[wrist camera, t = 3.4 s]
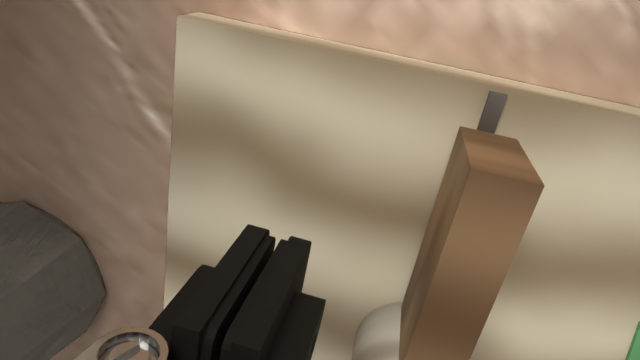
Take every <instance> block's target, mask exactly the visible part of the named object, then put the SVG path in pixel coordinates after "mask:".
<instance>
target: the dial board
mask: <svg viewBox="0 0 640 360" xmlns="http://www.w3.org/2000/svg"><path fill="white" fill-rule="evenodd" d="M460 126H462V127H467V128H471V129H475V130H480V131H484V132H488V133H493V134H497V135H502V136H506V137H510V138H515V139H517V140H518V141H519V143H520V145H521V147H522V148H523V150H524V152H525V153H526V155H527V157H528V158H529V160H530V162H531V163H532V165H533V167H534V168H535V170H536V172H537V174H538V175H539V177H540V179H541V180H542V182H543V184H544V185H545V186H544V189H543V191H542V193H541V196H540V198H539V200H538V203H537V205H536V207H535V209H534V212H533V214H532V216H531V219H530V221H529V223H528V226H527V228H526V230H525V233H524V235H523V237H522V240H521V242H520V244H519V247H518V249H517V251H516V253H515V256H514V258H513V260H512V263H511V265H510V267H509V270H508V272H507V274H506V277H505V279H504V281H503V284H502V286H501V288H500V291H499V293H498V295H497V298H496V300H495V302H494V304H493V307H492V309H491V311H490V314H489V316H488V318H487V321H486V323H485V325H484V328H483V330H482V332H481V335H480V337H479V339H478V342H477V344H476V346H475V348H474V351H473V353H472V355H471V358H470V360H640V108H638V107H633V106H628V105H624V104H619V103H615V102H610V101H605V100H601V99H596V98H592V97H587V96H582V95H578V94H573V93H569V92H564V91H560V90H555V89H550V88H546V87H541V86H537V85H532V84H527V83H523V82H518V81H514V80H509V79H504V78H500V77H495V76H491V75H486V74H482V73H477V72H472V71H468V70H463V69H459V68H454V67H449V66H445V65H440V64H436V63H431V62H426V61H422V60H417V59H413V58H408V57H403V56H399V55H394V54H390V53H385V52H381V51H376V50H371V49H367V48H362V47H358V46H353V45H348V44H344V43H339V42H335V41H330V40H325V39H321V38H316V37H312V36H307V35H303V34H298V33H293V32H289V31H284V30H280V29H275V28H270V27H266V26H261V25H257V24H252V23H247V22H243V21H238V20H234V19H229V18H225V17H220V16H215V15H211V14H206V13H202V12H197V13H191V14H186V15H180V16H177V29H176V50H175V72H174V94H173V115H172V137H171V158H170V180H169V202H168V223H167V245H166V267H165V288H164V309H165V308H166V306H167V305H168V304H169V303H170V301H171V300H172V299H173V298H174V297H175V295H176V294H177V293H178V292H179V290H180V289H181V288H182V287H183V286H184V284H185V283H186V282H187V281H188V280H189V278H190V277H191V276H192V275H193V273H194V272H195V271H196V270H197V269H198V268H199V267H200V266H201V265H203V264H204V265H208V266H211V267H215V266H216V265H217V264H218V263H219V261H220V260H221V259H222V257H223V256H224V255H225V253H226V252H227V251H228V249H229V248H230V247H231V246H232V244H233V243H234V242H235V240H236V239H237V238H238V236H239V235H240V234H241V232H242V231H243V230H244V228H245V227H246V226H247V225H248V224H250V225H254V226H257V227H261V228H265V229H268V230H269V231H270V235H269V236H273V237H275V238H276V242H275V248H276V247H277V245H278V243H279V241H280V240H281V239H283V240H287V241H288V239H289V237H290V236H294V237H297V238H301V239H305V240H308V241H311V242H312V243H311V250H310V254H309V259H308V264H307V269H306V274H305V278H304V283H303V288H302V293H305V294H308V295H312V296H315V297H319V298H322V299H326V303H325V308H324V312H323V316H322V321H321V325H320V329H319V333H318V336H317V340H316V344H315V347H314V351H313V354H312V358H311V360H352V356H353V350H354V344H355V338H356V333H357V330H358V327H359V325H360V324H361V322H362V321H363V319H364V318H365V317H366V316H367V315H368V314H369V313H371V312H372V311H374V310H375V309H377V308H379V307H381V306H384V305H387V304H391V303H395V302H403V300H404V297H405V294H406V290H407V287H408V284H409V281H410V278H411V275H412V272H413V269H414V266H415V263H416V260H417V257H418V253H419V250H420V247H421V244H422V241H423V238H424V235H425V232H426V229H427V226H428V223H429V220H430V217H431V213H432V210H433V207H434V204H435V201H436V198H437V195H438V192H439V189H440V186H441V183H442V180H443V176H444V173H445V170H446V167H447V164H448V161H449V158H450V155H451V152H452V149H453V146H454V143H455V139H456V136H457V133H458V130H459V127H460ZM275 248H274V250H275Z"/></svg>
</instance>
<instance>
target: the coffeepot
mask: <svg viewBox="0 0 640 360" xmlns="http://www.w3.org/2000/svg"><path fill="white" fill-rule="evenodd" d="M105 295H106V292H105V288H104V284H103V280H102V276H101V273H100V271H99V268H98V265H97V263H96V261H95V259H94V257H93V255H92V254H91V252H90V250H89V249H88V248H87V246H86V245H85V244H84V242H83V241H82V240H81V238H80V237H79V236H78V235H77V234H76V233H74V232H73V231H72V230H71V229H70V228H69V227H68V226H67V225H65V224H64V223H63V222H61V221H60V220H59V219H57V218H56V217H54V216H52V215H50V214H48V213H47V212H45V211H43V210H40V209H38V208H35V207H32V206H29V205H27V204H26V203H24V202H14V203H0V360H49V359H50V358H52V357H53V356H54V355H56V354H57V353H58V352H60V351H61V350H62V349H64V348H65V347H66V346H67V345H69V344H70V343H71V342H73V341H74V340H75V339H77V338H78V337H79V336H81V335H82V334H83V333H85V332H86V330H87V329H88V327H89V325H90V323H91V321H92V320H93V318H94V317H95V315H96V313H97V312H98V310H99V308H100V305H101V302H102V300H103V299H104V297H105Z"/></svg>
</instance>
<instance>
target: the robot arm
mask: <svg viewBox="0 0 640 360" xmlns="http://www.w3.org/2000/svg"><path fill="white" fill-rule="evenodd" d="M269 235H270V231H269V230H268V229H265V228H261V227H257V226H254V225H250V224H248V225H247V226H246V227H245V228H244V230H243V231H242V232H241V234H240V235H239V236H238V238H237V239H236V240H235V242H234V243H233V244H232V246H231V247H230V248H229V249H228V251H227V252H226V253H225V255H224V256H223V257H222V259H221V260H220V261H219V263H218V264H217V265H216V266H215V267H211V266H208V265H204V264H203V265H201V266H200V267H199V268H198V269H197V270H196V271H195V272H194V273H193V275H192V276H191V277H190V278H189V280H188V281H187V282H186V283H185V284H184V286H183V287H182V288H181V289H180V290H179V292H178V293H177V294H176V295H175V297H174V298H173V299H172V300H171V301H170V303H169V304H168V305H167V306H166V308H165V309H164V310H163V311H162V312H161V314H160V315H159V316H158V317H157V318H156V320H155V321H154V322H153V323H152V325H151V326H150V327H149V328H145V327H125V328H120V329H117V330H114V331H111V332H109V333H107V334H105V335H104V336H102V337H101V338H99V339H98V340H97V341H95V342H94V343H93V344H92V345H91V346H89V347H88V348H87V349H86V350H84V351H83V352H82V353H81V354H80V355H78V356H77V357H76V358H75V359H73V360H311V358H312V354H313V351H314V347H315V344H316V340H317V336H318V333H319V329H320V325H321V321H322V316H323V312H324V308H325V303H326V299H322V298H319V297H315V296H312V295H308V294H305V293H302V288H303V283H304V278H305V274H306V269H307V264H308V259H309V254H310V250H311V243H312V242H311V241H308V240H305V239H301V238H297V237H294V236H290V237H289V239H288V241H287V240H283V239H281V240H280V241H279V243H278V245H277V247H276V248H275V242H276V238H275V237H273V236H269ZM274 248H275V250H274Z"/></svg>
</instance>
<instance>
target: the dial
mask: <svg viewBox="0 0 640 360" xmlns="http://www.w3.org/2000/svg"><path fill="white" fill-rule="evenodd" d="M544 186H545V185H544V184H543V182H542V180H541V179H540V177H539V175H538V174H537V172H536V170H535V168H534V167H533V165H532V163H531V162H530V160H529V158H528V157H527V155H526V153H525V152H524V150H523V148H522V147H521V145H520V143H519V141H518V140H517V139H515V138H510V137H506V136H502V135H497V134H493V133H488V132H484V131H480V130H475V129H471V128H467V127H462V126H460V127H459V130H458V133H457V136H456V139H455V143H454V146H453V149H452V152H451V155H450V158H449V161H448V164H447V167H446V170H445V173H444V176H443V180H442V183H441V186H440V189H439V192H438V195H437V198H436V201H435V204H434V207H433V210H432V213H431V217H430V220H429V223H428V226H427V229H426V232H425V235H424V238H423V241H422V244H421V247H420V250H419V253H418V257H417V260H416V263H415V266H414V269H413V272H412V275H411V278H410V281H409V284H408V287H407V290H406V294H405V297H404V300H403V302H395V303H391V304H387V305H384V306H381V307H379V308H377V309H375V310H374V311H372V312H371V313H369V314H368V315H367V316H366V317H365V318H364V319H363V321H362V322H361V324H360V325H359V327H358V330H357V333H356V338H355V344H354V350H353V356H352V360H470V358H471V355H472V353H473V351H474V348H475V346H476V344H477V342H478V339H479V337H480V335H481V332H482V330H483V328H484V325H485V323H486V321H487V318H488V316H489V314H490V311H491V309H492V307H493V304H494V302H495V300H496V298H497V295H498V293H499V291H500V288H501V286H502V284H503V281H504V279H505V277H506V274H507V272H508V270H509V267H510V265H511V263H512V260H513V258H514V256H515V253H516V251H517V249H518V247H519V244H520V242H521V240H522V237H523V235H524V233H525V230H526V228H527V226H528V223H529V221H530V219H531V216H532V214H533V212H534V209H535V207H536V205H537V203H538V200H539V198H540V196H541V193H542V191H543V189H544Z"/></svg>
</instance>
